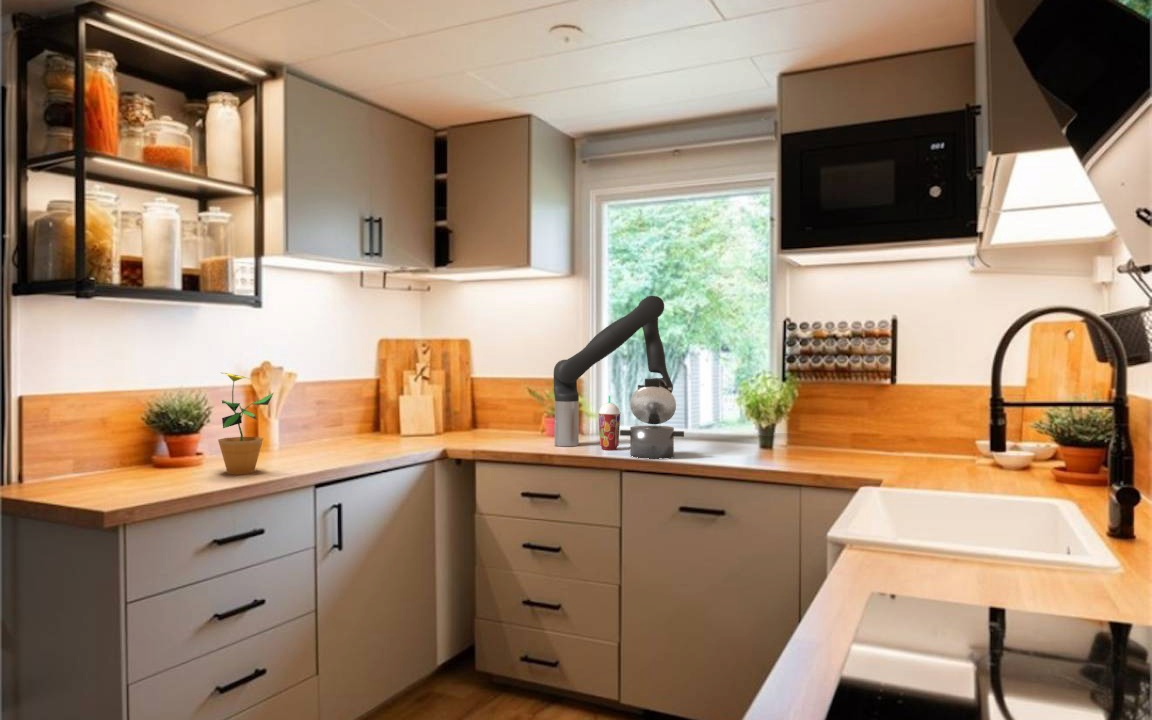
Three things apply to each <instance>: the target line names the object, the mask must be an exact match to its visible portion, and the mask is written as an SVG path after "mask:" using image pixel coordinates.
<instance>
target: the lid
mask: <svg viewBox="0 0 1152 720" xmlns="http://www.w3.org/2000/svg"><path fill="white" fill-rule="evenodd" d="M644 385H645V386H644V387H641V388H639V389H638V388H637V390H636V391H635V392H633V394H632V396H631V399H630V404H629V405H630V410H631V413H632V414H633V416H634V417H635V418H636V419H637V420H639V421H640V422H642V423H644V424H646V425H647V424H648V425H661V424H663V423H666V422H668V421H669V420H671V419H672V418H673V416H674V415H675V412H676V409H677V402H676V401H677V400H676V398H675V396H674V395H673V393H671V392H670V391H668V390H667V389H665V388H663V387H661V386H660V382H659V379H653V378H645V379H644Z"/></svg>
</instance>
